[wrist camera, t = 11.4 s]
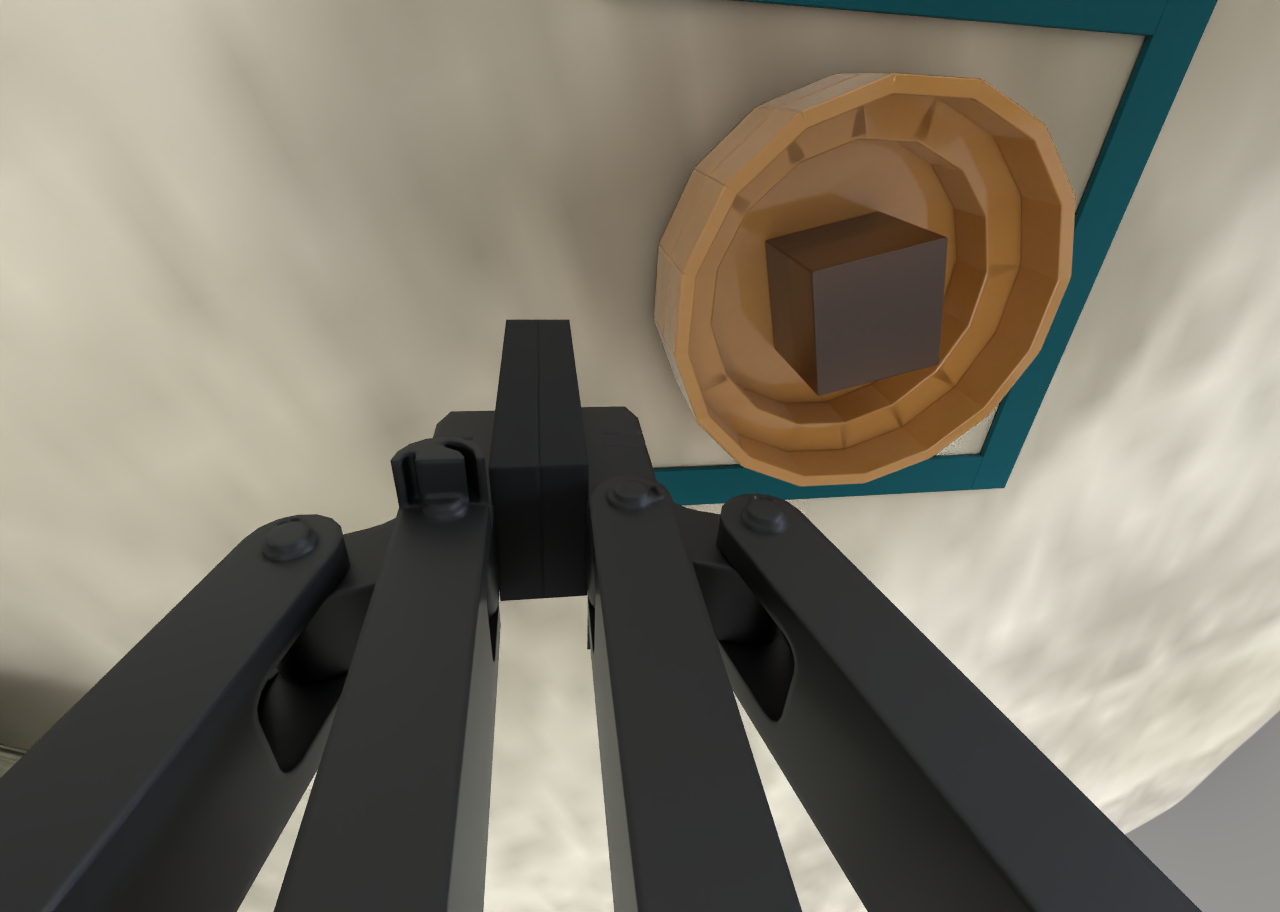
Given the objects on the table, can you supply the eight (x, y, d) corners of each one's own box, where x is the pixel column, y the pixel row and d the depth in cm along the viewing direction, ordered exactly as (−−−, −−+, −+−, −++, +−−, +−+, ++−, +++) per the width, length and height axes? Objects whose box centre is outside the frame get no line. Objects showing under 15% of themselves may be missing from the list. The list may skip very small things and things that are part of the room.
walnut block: (764, 239, 23) (811, 271, 19) (879, 210, 23) (949, 236, 19) (774, 349, 25) (817, 397, 22) (878, 322, 25) (939, 364, 22)
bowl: (666, 62, 20) (700, 59, 16) (1043, 87, 22) (1149, 90, 18) (642, 435, 27) (662, 494, 23) (928, 426, 30) (988, 477, 26)
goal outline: (604, -98, 18) (606, -100, 17) (1223, -30, 21) (1232, -32, 21) (594, 506, 29) (595, 510, 29) (1000, 484, 32) (1004, 488, 32)
